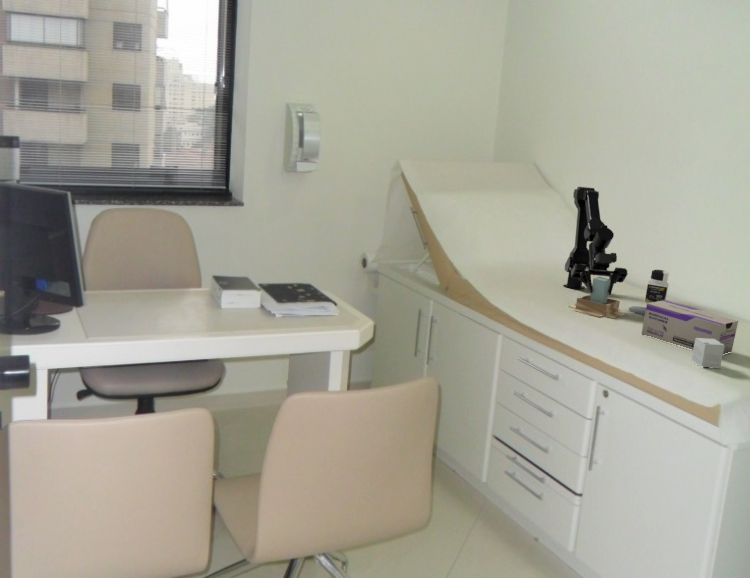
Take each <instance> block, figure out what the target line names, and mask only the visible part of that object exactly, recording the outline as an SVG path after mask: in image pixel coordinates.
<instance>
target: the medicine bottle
mask: <svg viewBox="0 0 750 578" xmlns="http://www.w3.org/2000/svg"><path fill="white" fill-rule="evenodd" d="M669 275H670V274H669V272H668V271H665V270H662V269H653V270H652V271H651V276H650V280H649V281H648V283H647V285H646V286H647V287H646V293H645V297H644V302H646V303H651V302H657V301H663V300H666V298H667V295H668V288H669V284H670V283H668V280H669V279H668V278H669ZM666 301H667V300H666Z"/></svg>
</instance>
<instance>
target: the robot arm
mask: <svg viewBox="0 0 750 578" xmlns="http://www.w3.org/2000/svg"><path fill="white" fill-rule="evenodd" d="M599 192H600V191H598V190H595V188H594V187H587V186H578V187H577V188H575V189H574V191H573V194H572V195H573V197H572V198H573V199H574V201H573V203H574V205H575V207H576V210H577V216H576V217H577V218H576V228H575V238H574V247H573V249H572V250H571V251H570V252H569V256H568V258H567V260H566V262H565V263H564V271H565V272H566V273H568V274H567V275H568V276H567V282H566V283H565V284H563V285H562V287H565V288H570V289H573V290H577V291H578V290H583V289H585V288H587V290H588V291H589V294H591V293H592V284H593V281H592V276H598V277H607V278H608V279H610V286H609V292H608V296H610V295H612V292H613V288H614V285H615V284H617V283H623V282H624V281H625V280H626V278H627V277H628V274H629V273H628V270H627V268H624V267H615V268H614V270H608V269H610V265H611V264H612V263H614V264H615V263H616V262H617V258H618V256H617V252H611V253H606V252H607V251H606V249H607V248H609V246H610V244H611V242H612V240H613V239H614V236H615V235H614V232H613V230H612V229H610V228H608V225H606V224H605V222H603V221H602V220H601V213H600V206H599V198H600V193H599ZM588 242H590V243H589V244H588ZM583 284H584V285H583Z"/></svg>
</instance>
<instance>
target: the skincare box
mask: <svg viewBox="0 0 750 578" xmlns="http://www.w3.org/2000/svg"><path fill="white" fill-rule="evenodd" d="M724 346H725V345H724V344H722V343H720V342H719V341H717V340H715V339H707V338H695V344H694V349H693V351H692V355H691V358H690V359H691V360H693V361H694V362H696V363H697V364H699V365H700V366H703V367H714V368H713V369H721V366H722V361H723V351H724ZM691 360H690V361H691Z"/></svg>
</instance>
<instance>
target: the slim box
mask: <svg viewBox="0 0 750 578" xmlns="http://www.w3.org/2000/svg"><path fill="white" fill-rule="evenodd" d="M609 286H610V279H609V278H605V277H602V276H598V277H593V278H592V293H590V294H591V296H590V301H592V302H596V303H600V304H604V305H606V304H607V298H608V297H609V293H608V292H609Z"/></svg>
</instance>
